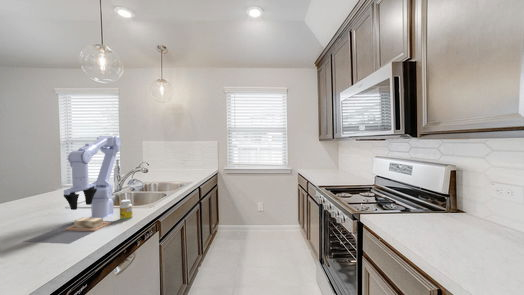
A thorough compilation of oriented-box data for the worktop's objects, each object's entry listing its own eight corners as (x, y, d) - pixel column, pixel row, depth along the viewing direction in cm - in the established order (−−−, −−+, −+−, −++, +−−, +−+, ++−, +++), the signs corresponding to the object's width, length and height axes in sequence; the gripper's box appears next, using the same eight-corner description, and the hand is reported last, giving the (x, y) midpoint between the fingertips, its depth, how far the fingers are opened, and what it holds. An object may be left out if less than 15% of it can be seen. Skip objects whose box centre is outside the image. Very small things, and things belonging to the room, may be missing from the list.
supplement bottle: (134, 218, 115) (134, 199, 115) (124, 222, 110) (123, 202, 110) (128, 217, 118) (128, 198, 117) (117, 220, 113) (117, 201, 113)
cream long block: (103, 225, 105) (102, 218, 105) (94, 229, 100) (94, 221, 100) (83, 224, 106) (83, 217, 106) (74, 228, 102) (74, 220, 101)
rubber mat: (79, 221, 113) (79, 220, 113) (116, 222, 110) (116, 221, 110) (23, 242, 89) (23, 241, 89) (69, 244, 86) (69, 243, 86)
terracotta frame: (83, 223, 108) (83, 221, 108) (110, 224, 107) (110, 222, 107) (65, 230, 100) (65, 228, 100) (95, 231, 98) (95, 229, 98)
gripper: (86, 174, 111) (87, 202, 111) (56, 179, 97) (57, 211, 97) (99, 174, 110) (100, 202, 111) (71, 180, 96) (73, 212, 96)
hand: (81, 206), depth 104 cm, fingers open, 7 cm apart
